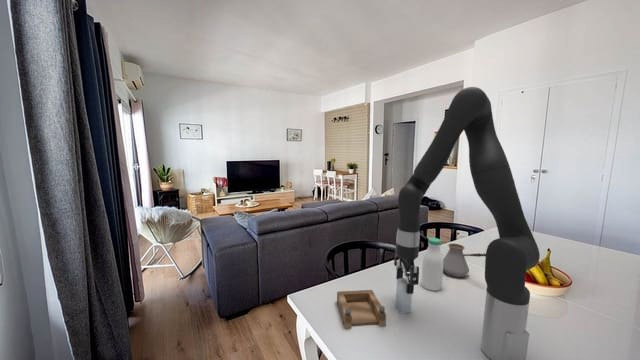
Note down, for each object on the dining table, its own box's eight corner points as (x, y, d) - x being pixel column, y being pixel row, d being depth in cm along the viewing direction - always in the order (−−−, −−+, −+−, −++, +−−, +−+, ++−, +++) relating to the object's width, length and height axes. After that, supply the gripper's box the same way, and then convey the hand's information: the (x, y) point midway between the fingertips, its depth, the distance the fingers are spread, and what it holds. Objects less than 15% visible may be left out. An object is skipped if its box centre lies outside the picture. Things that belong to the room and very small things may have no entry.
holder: (385, 325, 81) (386, 309, 80) (345, 328, 80) (345, 311, 79) (371, 299, 95) (372, 285, 94) (336, 301, 93) (337, 287, 93)
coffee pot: (434, 269, 120) (436, 238, 118) (452, 265, 124) (454, 235, 122) (477, 293, 100) (481, 257, 98) (497, 288, 105) (501, 252, 103)
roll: (413, 312, 88) (415, 284, 87) (399, 313, 87) (400, 285, 86) (406, 303, 93) (408, 276, 92) (393, 304, 92) (394, 277, 91)
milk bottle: (443, 292, 101) (447, 243, 98) (423, 290, 102) (426, 241, 100) (438, 282, 108) (442, 236, 106) (419, 280, 110) (422, 235, 107)
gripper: (428, 250, 81) (424, 298, 83) (408, 234, 95) (405, 275, 97) (405, 250, 80) (402, 298, 82) (389, 234, 94) (386, 276, 96)
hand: (404, 286), depth 90 cm, fingers open, 8 cm apart
